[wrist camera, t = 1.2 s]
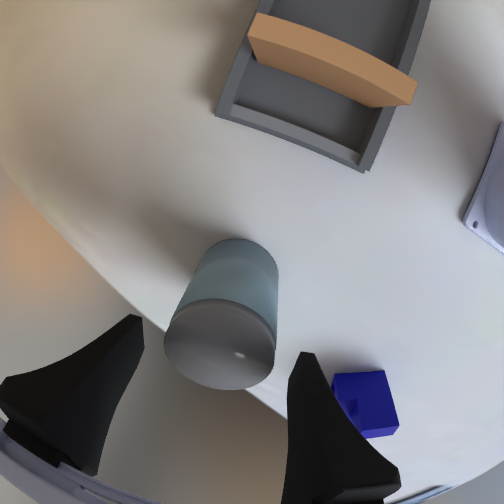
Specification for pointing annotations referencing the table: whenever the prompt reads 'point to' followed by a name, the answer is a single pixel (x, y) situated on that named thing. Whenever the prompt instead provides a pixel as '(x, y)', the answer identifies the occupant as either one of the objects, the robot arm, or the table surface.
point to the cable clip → (367, 402)
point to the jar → (227, 318)
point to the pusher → (329, 63)
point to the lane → (316, 96)
